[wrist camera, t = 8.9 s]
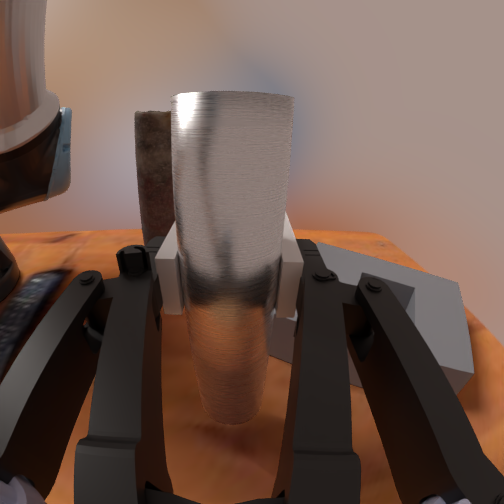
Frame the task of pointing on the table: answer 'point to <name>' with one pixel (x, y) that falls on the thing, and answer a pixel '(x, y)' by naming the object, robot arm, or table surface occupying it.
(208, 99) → the long pin
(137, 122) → the brown textured cylinder
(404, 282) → the guide block
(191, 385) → the table surface
